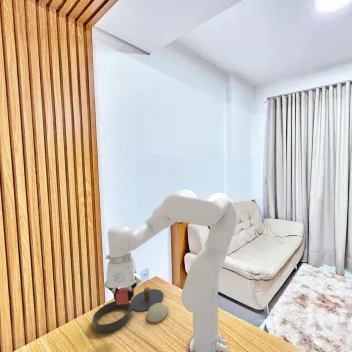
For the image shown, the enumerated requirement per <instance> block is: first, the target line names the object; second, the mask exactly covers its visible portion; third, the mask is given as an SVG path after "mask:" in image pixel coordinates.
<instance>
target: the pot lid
mask: <svg viewBox="0 0 352 352" xmlns="http://www.w3.org/2000/svg"><path fill="white" fill-rule="evenodd" d="M163 300H164V293H163V291H161V290H160V289H155V288H151V289H150V287H144V289H143V291H140V292H139V293H137V294H136V295H134V296H133V297H132V299H131V301H130V303H131V310H132V311H135V312H140V313H141V312H148V310H149V308H150V307H151V306H152V305H154V304H156V303H162V302H163Z"/></svg>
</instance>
